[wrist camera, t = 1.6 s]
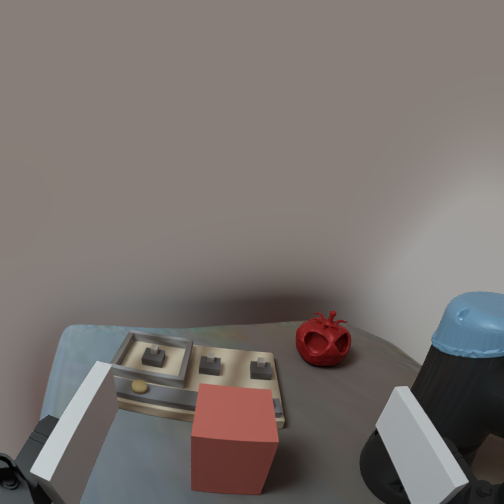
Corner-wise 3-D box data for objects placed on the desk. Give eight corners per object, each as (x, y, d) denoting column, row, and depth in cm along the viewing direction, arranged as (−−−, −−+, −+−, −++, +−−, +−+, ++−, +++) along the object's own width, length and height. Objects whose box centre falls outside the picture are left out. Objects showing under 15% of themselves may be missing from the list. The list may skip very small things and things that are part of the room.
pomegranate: (290, 341, 57) (298, 297, 54) (339, 345, 56) (350, 302, 54) (294, 370, 47) (305, 321, 45) (351, 373, 47) (365, 326, 45)
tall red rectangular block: (256, 448, 30) (271, 389, 28) (260, 494, 23) (279, 442, 21) (196, 443, 30) (199, 382, 27) (191, 490, 23) (191, 435, 20)
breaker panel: (271, 360, 49) (274, 343, 48) (282, 428, 34) (288, 410, 33) (131, 342, 47) (130, 324, 46) (98, 403, 32) (94, 383, 31)
